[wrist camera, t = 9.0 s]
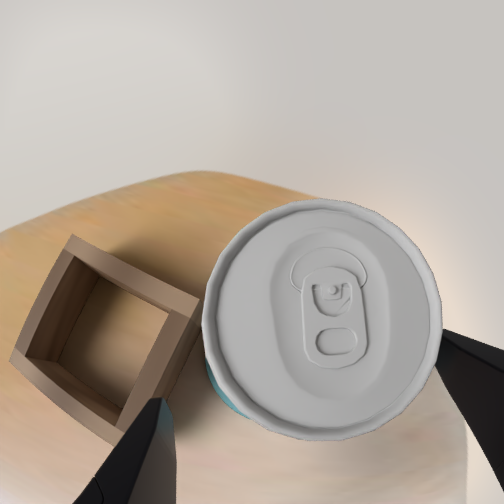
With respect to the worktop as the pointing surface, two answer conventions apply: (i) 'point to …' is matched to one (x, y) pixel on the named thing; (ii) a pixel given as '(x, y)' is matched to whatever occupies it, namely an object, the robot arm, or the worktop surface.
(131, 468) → the robot arm
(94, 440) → the worktop surface
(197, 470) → the worktop surface
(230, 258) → the beverage can
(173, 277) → the worktop surface
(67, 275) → the square wooden frame
